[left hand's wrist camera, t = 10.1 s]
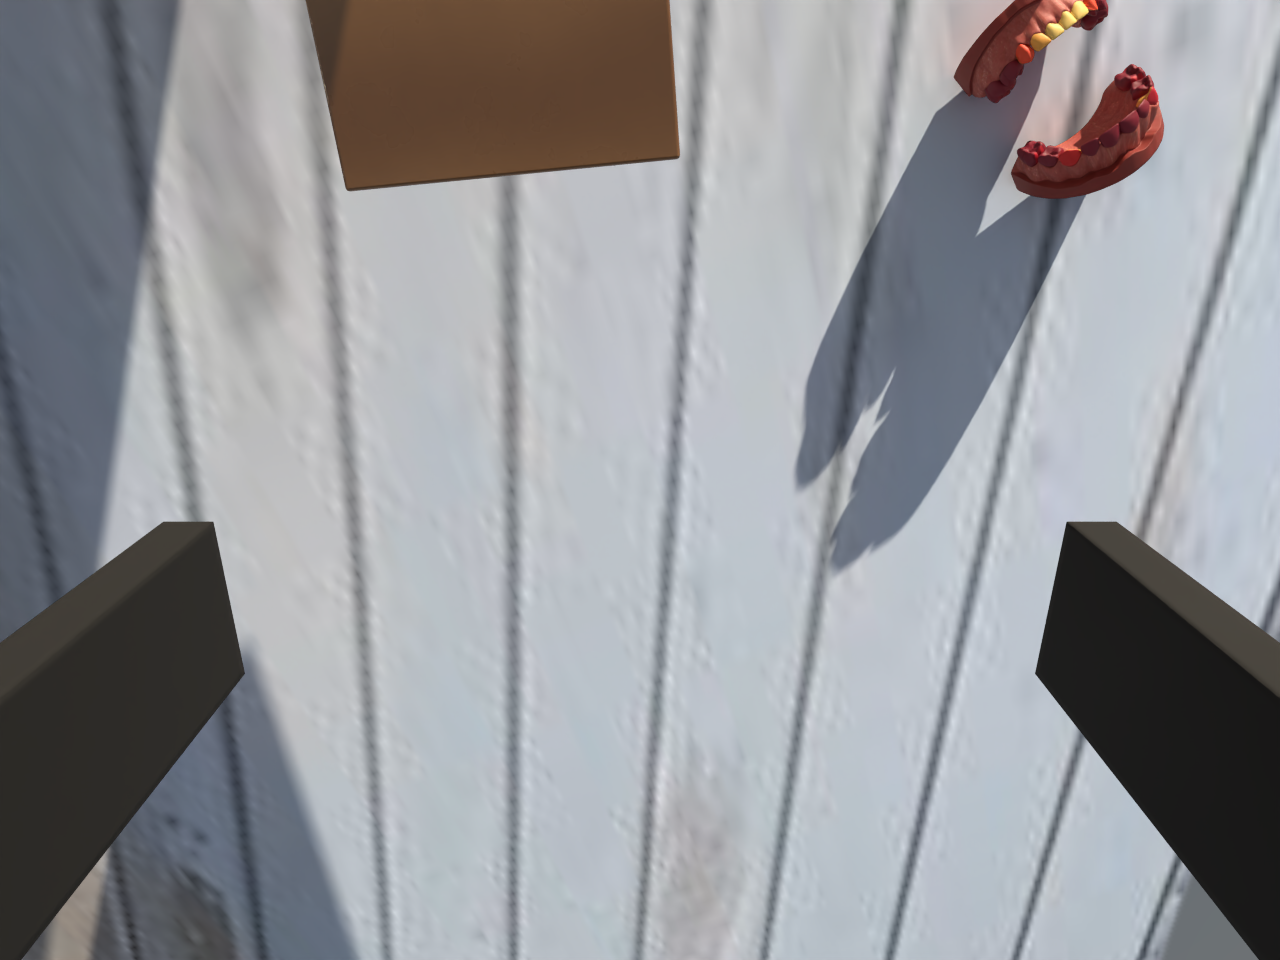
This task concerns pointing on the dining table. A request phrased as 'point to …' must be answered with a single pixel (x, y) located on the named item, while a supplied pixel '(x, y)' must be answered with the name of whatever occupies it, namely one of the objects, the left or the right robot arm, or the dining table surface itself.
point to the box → (494, 86)
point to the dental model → (1110, 137)
